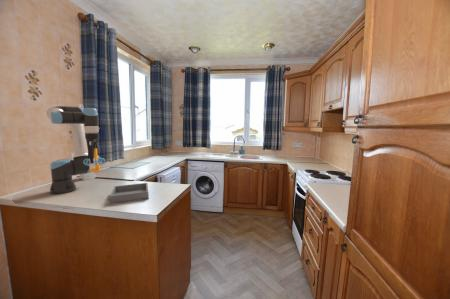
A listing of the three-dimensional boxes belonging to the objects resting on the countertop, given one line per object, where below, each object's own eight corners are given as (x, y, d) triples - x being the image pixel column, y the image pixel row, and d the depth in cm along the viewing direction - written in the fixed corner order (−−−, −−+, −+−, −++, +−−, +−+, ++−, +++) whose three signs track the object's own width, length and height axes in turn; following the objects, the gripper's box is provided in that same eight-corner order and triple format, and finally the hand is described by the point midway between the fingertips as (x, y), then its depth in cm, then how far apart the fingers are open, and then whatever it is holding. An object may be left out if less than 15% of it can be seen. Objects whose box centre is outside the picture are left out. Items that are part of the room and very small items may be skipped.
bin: (114, 193, 144) (114, 186, 144) (147, 189, 152) (147, 182, 152) (110, 204, 124) (109, 196, 123) (148, 198, 132) (148, 191, 132)
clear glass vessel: (84, 180, 179) (82, 161, 177) (79, 178, 184) (77, 160, 182) (95, 178, 187) (94, 160, 185) (91, 176, 192) (89, 159, 190)
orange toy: (94, 173, 125) (92, 149, 123) (80, 173, 127) (77, 149, 125) (109, 169, 136) (107, 147, 135) (96, 169, 139) (94, 147, 137)
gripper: (94, 133, 119) (97, 169, 122) (102, 132, 141) (105, 163, 144) (79, 133, 117) (82, 170, 119) (89, 132, 138) (92, 164, 141)
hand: (94, 166), depth 131 cm, fingers closed on orange toy, 11 cm apart
